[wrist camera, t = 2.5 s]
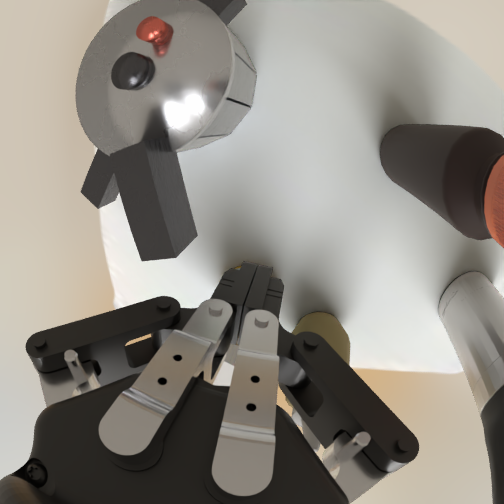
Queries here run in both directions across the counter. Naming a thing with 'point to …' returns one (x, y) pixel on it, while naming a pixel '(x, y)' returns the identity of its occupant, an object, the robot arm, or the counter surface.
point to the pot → (233, 111)
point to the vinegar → (451, 173)
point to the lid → (155, 108)
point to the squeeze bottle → (336, 339)
